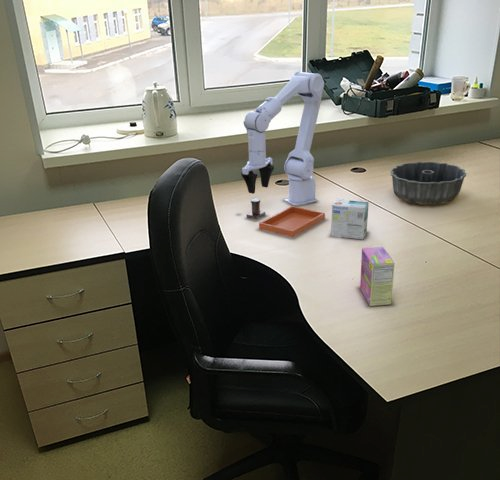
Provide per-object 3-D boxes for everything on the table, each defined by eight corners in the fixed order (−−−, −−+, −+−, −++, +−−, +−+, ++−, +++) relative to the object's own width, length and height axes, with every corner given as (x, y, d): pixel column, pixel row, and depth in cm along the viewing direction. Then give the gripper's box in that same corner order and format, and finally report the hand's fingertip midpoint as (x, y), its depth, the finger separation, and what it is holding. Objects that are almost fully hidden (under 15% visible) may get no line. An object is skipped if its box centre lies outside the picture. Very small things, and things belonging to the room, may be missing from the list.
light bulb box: (367, 232, 191) (369, 200, 185) (363, 240, 185) (366, 207, 180) (334, 229, 194) (336, 197, 188) (330, 236, 188) (331, 204, 183)
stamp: (256, 213, 209) (255, 196, 205) (265, 216, 206) (265, 198, 203) (246, 218, 205) (246, 201, 202) (255, 221, 203) (255, 203, 199)
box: (359, 288, 158) (361, 247, 151) (379, 286, 158) (383, 246, 152) (368, 306, 149) (372, 264, 143) (391, 305, 149) (395, 262, 143)
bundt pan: (381, 206, 211) (384, 178, 206) (395, 184, 232) (397, 158, 226) (458, 213, 202) (462, 185, 197) (465, 190, 223) (469, 163, 217)
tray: (292, 212, 209) (292, 205, 207) (324, 220, 201) (325, 213, 200) (259, 230, 195) (258, 222, 194) (292, 238, 188) (292, 231, 187)
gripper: (260, 143, 202) (261, 182, 209) (234, 153, 192) (236, 193, 200) (277, 146, 198) (277, 185, 205) (251, 156, 189) (252, 197, 196)
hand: (258, 189), depth 202 cm, fingers open, 7 cm apart
